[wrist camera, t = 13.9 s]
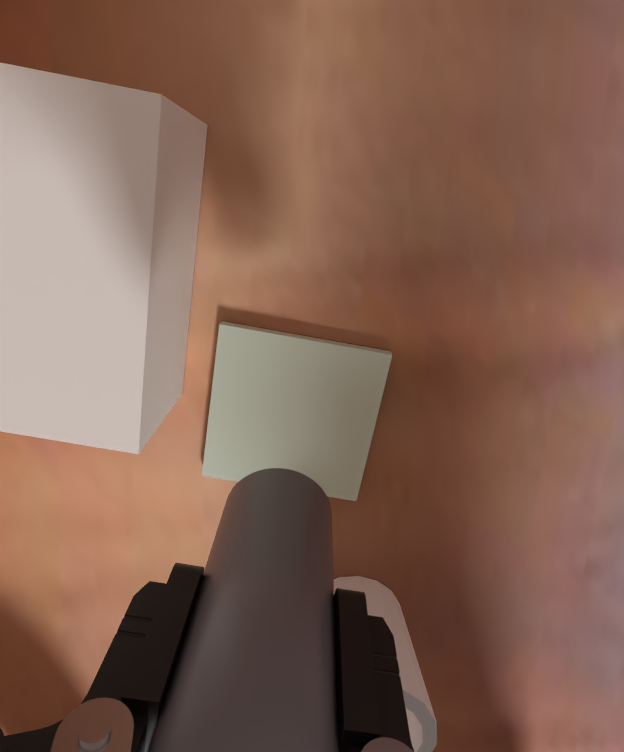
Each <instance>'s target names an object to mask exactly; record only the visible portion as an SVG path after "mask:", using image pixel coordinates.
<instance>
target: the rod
mask: <svg viewBox="0 0 624 752" xmlns="http://www.w3.org/2000/svg"><path fill="white" fill-rule="evenodd" d="M147 752H339V745H338V712H337V680H336V647H335V615H334V579H333V547H332V515H331V506H330V503H329V500H328V498H327V496H326V494H325V492H324V491H323V489H322V488H321V487H320V486H319V485H318V484H317V483H316V482H315V481H314V480H312V479H311V478H309V477H308V476H306V475H304V474H302V473H300V472H297V471H294V470H289V469H283V468H269V469H263V470H259V471H256V472H254V473H251V474H249V475H247V476H246V477H244V478H243V479H241V480H240V481H239V482H238V483H237V484H236V485H235V486H234V487H233V489H232V490H231V492H230V494H229V496H228V498H227V501H226V504H225V507H224V510H223V513H222V517H221V520H220V523H219V526H218V529H217V532H216V536H215V539H214V542H213V545H212V548H211V551H210V555H209V558H208V561H207V564H206V567H205V570H204V575H203V579H202V582H201V585H200V588H199V591H198V595H197V598H196V601H195V604H194V607H193V610H192V614H191V617H190V620H189V623H188V626H187V630H186V633H185V636H184V639H183V642H182V646H181V649H180V652H179V655H178V658H177V661H176V665H175V668H174V671H173V674H172V677H171V681H170V684H169V687H168V690H167V693H166V697H165V700H164V703H163V706H162V709H161V712H160V716H159V719H158V722H157V724H156V727H155V729H154V732H153V735H152V738H151V741H150V744H149V748H148V751H147Z"/></svg>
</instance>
